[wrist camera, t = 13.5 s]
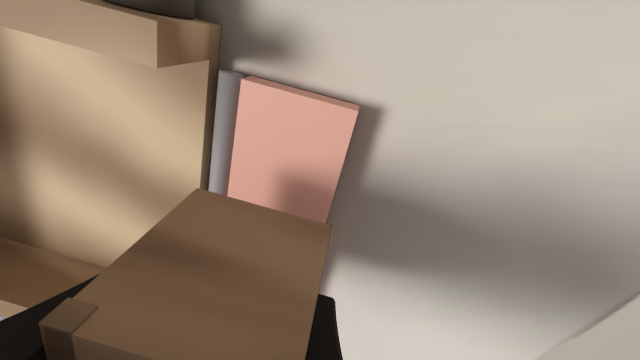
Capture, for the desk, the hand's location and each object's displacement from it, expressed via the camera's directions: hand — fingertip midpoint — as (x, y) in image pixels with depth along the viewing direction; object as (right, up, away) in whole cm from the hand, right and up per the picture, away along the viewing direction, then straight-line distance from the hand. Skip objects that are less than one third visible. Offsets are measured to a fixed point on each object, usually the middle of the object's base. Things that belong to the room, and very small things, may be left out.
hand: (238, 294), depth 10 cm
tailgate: (-2, +3, +4) cm, 6 cm away
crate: (0, +1, +1) cm, 2 cm away
